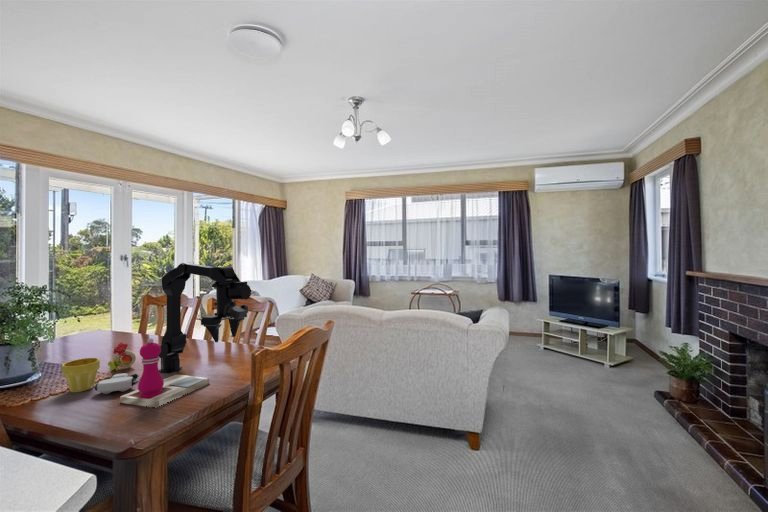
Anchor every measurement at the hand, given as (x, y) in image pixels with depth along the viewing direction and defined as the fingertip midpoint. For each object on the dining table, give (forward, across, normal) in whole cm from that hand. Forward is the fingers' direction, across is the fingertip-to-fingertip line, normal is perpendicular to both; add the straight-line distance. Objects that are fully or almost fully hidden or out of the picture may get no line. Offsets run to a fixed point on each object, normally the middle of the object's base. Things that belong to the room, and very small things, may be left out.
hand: (225, 339), depth 142 cm
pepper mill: (+15, -24, +9) cm, 30 cm away
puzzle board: (+14, -19, +8) cm, 25 cm away
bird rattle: (+14, -4, +49) cm, 51 cm away
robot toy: (+15, -21, +29) cm, 39 cm away
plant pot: (+14, -25, +41) cm, 50 cm away
